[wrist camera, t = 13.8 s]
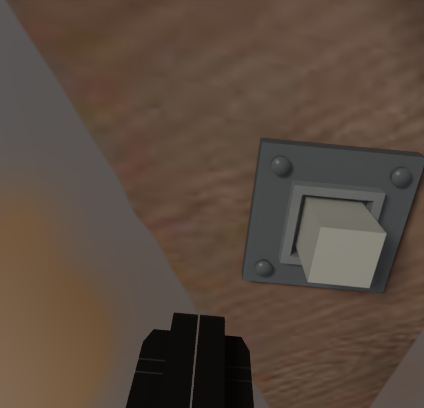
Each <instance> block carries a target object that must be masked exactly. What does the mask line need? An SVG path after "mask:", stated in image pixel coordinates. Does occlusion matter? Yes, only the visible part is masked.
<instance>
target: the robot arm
mask: <svg viewBox="0 0 424 408" xmlns="http://www.w3.org/2000/svg"><path fill="white" fill-rule="evenodd" d="M197 321H198V315H195V314H184V313H174V314H173V320H172V325H171V330H170V331H168V330H156V329H154V330H153V331H152V332H151V333H150V334H149V335H148V337H147V338H146V339H145V340H144V341H143V344H142V347H141V351H140V355H139V360H138V363H137V367H136V371H135V374H134V378H133V382H132V386H131V390H130V393H129V397H128V401H127V405H126V408H190V396H191V386H192V375H193V364H194V354H195V343H196V332H197ZM192 408H254V403H253V390H252V377H251V364H250V351H249V349H248V348H247V346H246V344H245V343H244V341H243V339H242V337H236V336H225V318H224V317H219V316H208V315H200V323H199V334H198V345H197V355H196V366H195V377H194V389H193V400H192Z"/></svg>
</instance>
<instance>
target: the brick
mask: <svg viewBox="0 0 424 408" xmlns="http://www.w3.org/2000/svg"><path fill="white" fill-rule="evenodd" d="M386 234H387V233H386V232H385V231H384V230H383V228H382V227H381V226H380V225H379V223H378V222H377V221H376V220H375V218H374V217H373V216H372V215H371V213H370V212H369V211H368V209H367V208H366V207H365V206H364V204H363V203H362V202H360V201H350V200H340V199H330V198H320V197H310V196H306V197H305V202H304V206H303V211H302V216H301V221H300V225H299V230H298V235H297V240H296V244H295V245H296V248H297V251H298V254H299V257H300V260H301V263H302V266H303V269H304V272H305V275H306V279H307V282H312V283H322V284H332V285H342V286H352V287H362V288H370V285H371V281H372V278H373V275H374V272H375V269H376V266H377V262H378V259H379V256H380V253H381V250H382V247H383V243H384V240H385V237H386Z"/></svg>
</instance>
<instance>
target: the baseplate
mask: <svg viewBox="0 0 424 408" xmlns="http://www.w3.org/2000/svg"><path fill="white" fill-rule="evenodd" d="M423 167H424V156H423V155H422V154H420V153H418V152H407V151H396V150H386V149H375V148H364V147H354V146H343V145H333V144H322V143H311V142H301V141H290V140H279V139H269V138H260V145H259V152H258V159H257V166H256V173H255V181H254V188H253V195H252V202H251V209H250V216H249V223H248V230H247V237H246V244H245V252H244V259H243V266H242V280H246V281H257V282H268V283H279V284H290V285H301V286H312V287H323V288H334V289H345V290H356V291H367V292H378V293H383V291H384V288H385V285H386V282H387V279H388V276H389V273H390V270H391V266H392V263H393V260H394V257H395V254H396V251H397V248H398V245H399V242H400V239H401V235H402V232H403V229H404V226H405V223H406V220H407V217H408V214H409V211H410V208H411V205H412V201H413V198H414V195H415V192H416V189H417V186H418V183H419V180H420V177H421V174H422V171H423ZM306 196H310V197H320V198H330V199H340V200H350V201H360V202H362V203H363V204H364V206H365V207H366V208H367V209H368V211H369V212H370V213H371V215H372V216H373V217H374V218H375V220H376V221H377V222H378V223H379V225H380V226H381V227H382V228H383V230H384V231H385V232H386V233H387V234H386V237H385V240H384V243H383V247H382V250H381V253H380V256H379V259H378V262H377V266H376V269H375V272H374V275H373V278H372V281H371V285H370V288H362V287H352V286H342V285H332V284H322V283H312V282H307V279H306V275H305V272H304V269H303V266H302V263H301V260H300V257H299V254H298V251H297V248H296V245H295V244H296V240H297V235H298V230H299V225H300V221H301V216H302V211H303V206H304V202H305V197H306Z"/></svg>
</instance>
